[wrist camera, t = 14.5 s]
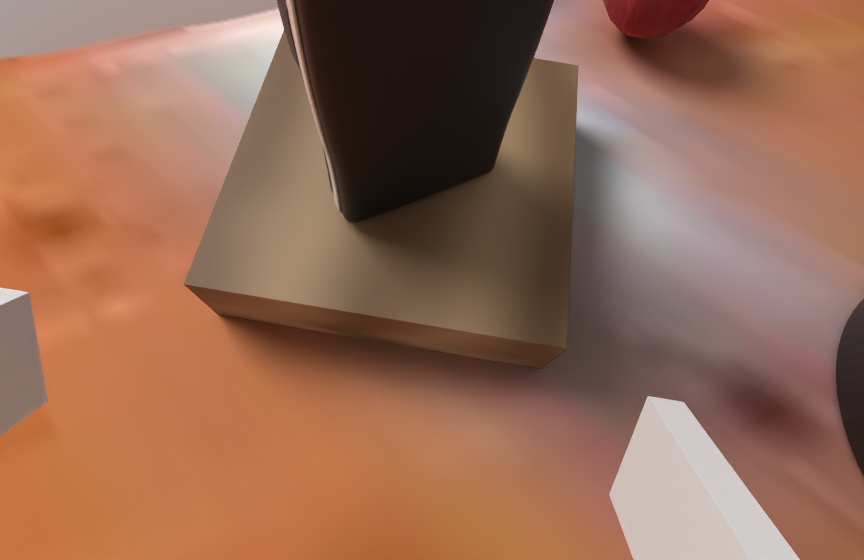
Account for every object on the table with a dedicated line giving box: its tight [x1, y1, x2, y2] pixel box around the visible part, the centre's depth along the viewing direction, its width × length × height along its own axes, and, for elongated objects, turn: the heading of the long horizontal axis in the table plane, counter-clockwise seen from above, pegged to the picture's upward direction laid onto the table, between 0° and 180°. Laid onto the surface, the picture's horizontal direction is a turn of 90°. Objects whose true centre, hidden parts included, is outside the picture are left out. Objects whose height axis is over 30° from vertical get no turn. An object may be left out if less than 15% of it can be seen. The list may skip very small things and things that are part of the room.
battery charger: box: [277, 0, 554, 223], centre depth 14 cm, size 7×4×11 cm, turn 116°
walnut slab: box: [184, 30, 578, 369], centre depth 21 cm, size 14×14×4 cm
